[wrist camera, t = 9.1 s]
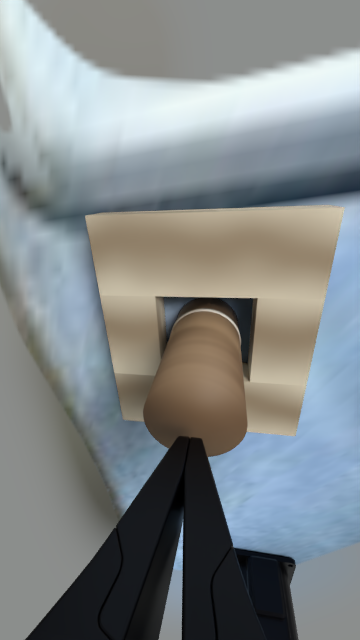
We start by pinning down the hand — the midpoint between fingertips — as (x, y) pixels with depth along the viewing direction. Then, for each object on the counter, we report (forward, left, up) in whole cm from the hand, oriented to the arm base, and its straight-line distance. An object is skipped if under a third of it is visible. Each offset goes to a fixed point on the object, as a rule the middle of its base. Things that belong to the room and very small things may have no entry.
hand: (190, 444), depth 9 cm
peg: (0, 0, -9) cm, 9 cm away
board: (0, 0, -9) cm, 9 cm away
